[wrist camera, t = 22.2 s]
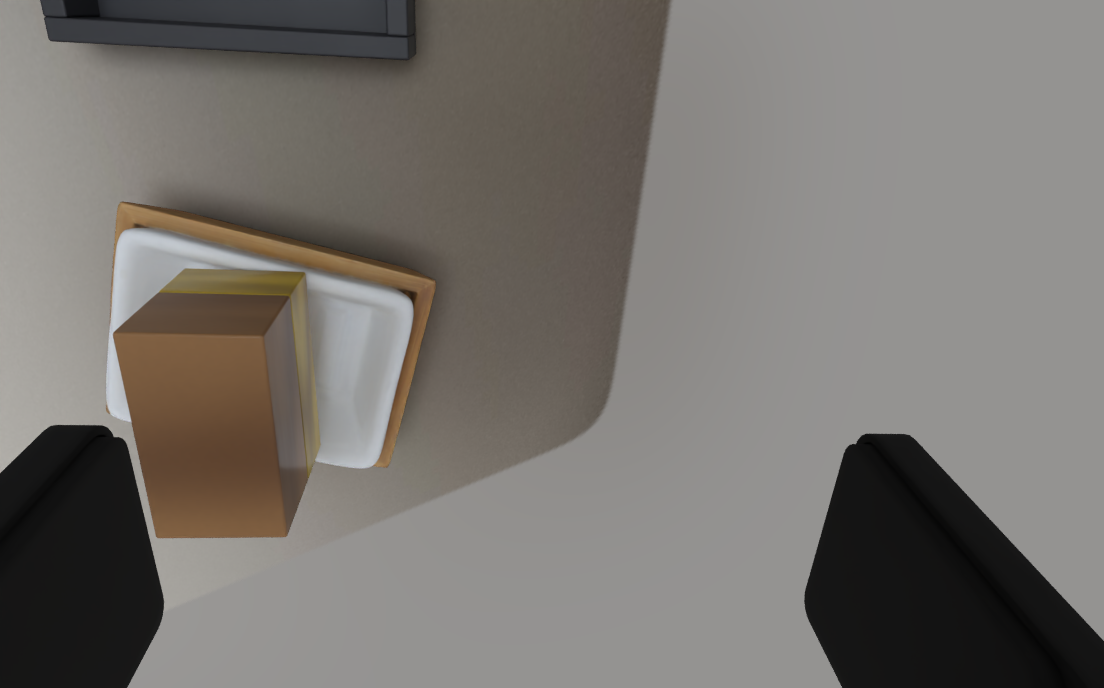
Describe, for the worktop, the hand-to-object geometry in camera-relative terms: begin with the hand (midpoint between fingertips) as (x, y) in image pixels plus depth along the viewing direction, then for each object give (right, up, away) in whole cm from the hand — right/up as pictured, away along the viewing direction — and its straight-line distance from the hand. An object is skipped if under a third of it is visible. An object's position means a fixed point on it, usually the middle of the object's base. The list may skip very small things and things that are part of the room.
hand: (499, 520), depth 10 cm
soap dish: (-12, +4, +24) cm, 27 cm away
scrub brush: (-11, +2, +20) cm, 23 cm away
